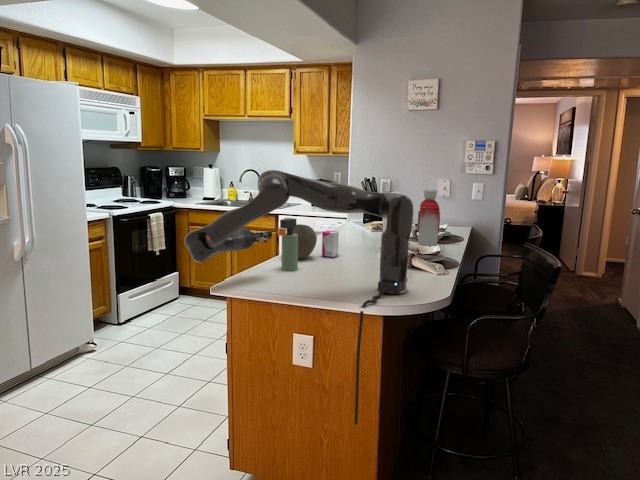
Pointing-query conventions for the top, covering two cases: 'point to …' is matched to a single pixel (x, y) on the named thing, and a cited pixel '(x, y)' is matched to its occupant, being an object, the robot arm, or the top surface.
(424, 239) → the bottle
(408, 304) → the top surface
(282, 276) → the top surface
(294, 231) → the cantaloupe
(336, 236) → the supplement box
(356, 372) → the robot arm
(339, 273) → the top surface
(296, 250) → the spray bottle
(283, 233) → the trigger
